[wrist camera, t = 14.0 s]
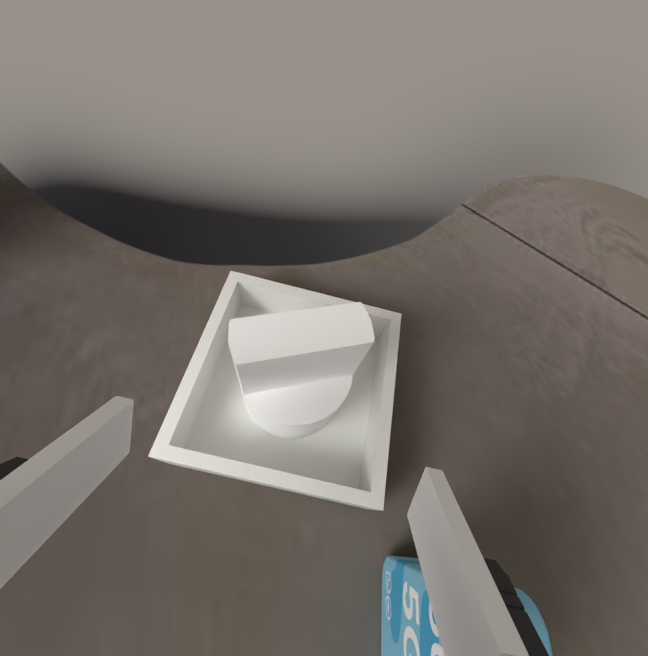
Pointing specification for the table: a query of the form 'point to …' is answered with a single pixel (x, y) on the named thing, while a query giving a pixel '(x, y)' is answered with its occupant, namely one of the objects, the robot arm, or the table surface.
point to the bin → (263, 448)
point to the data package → (422, 612)
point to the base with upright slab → (298, 364)
